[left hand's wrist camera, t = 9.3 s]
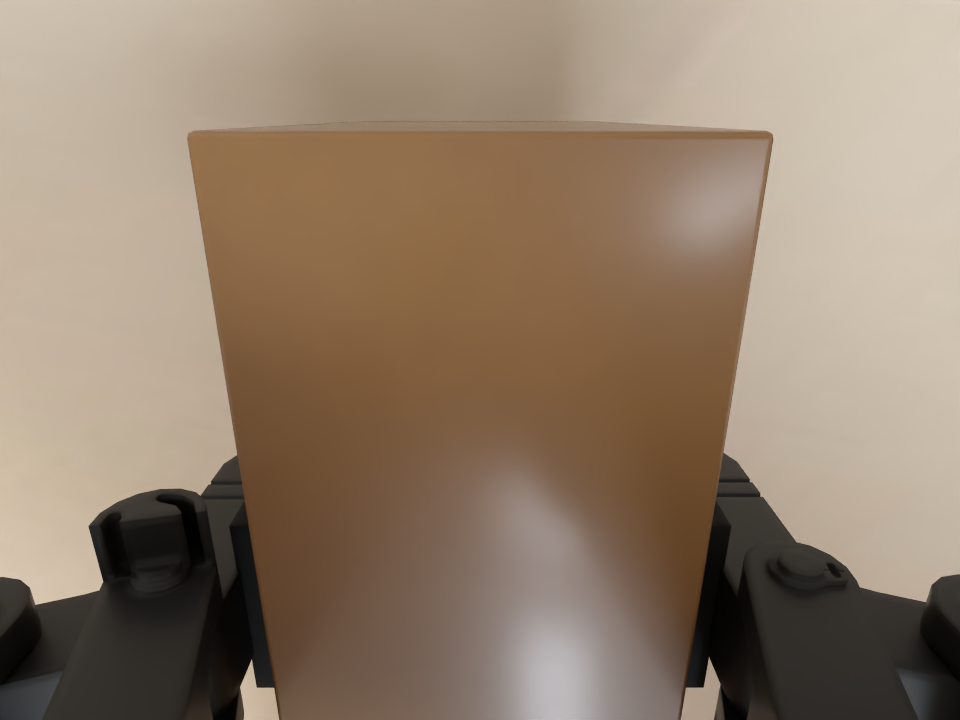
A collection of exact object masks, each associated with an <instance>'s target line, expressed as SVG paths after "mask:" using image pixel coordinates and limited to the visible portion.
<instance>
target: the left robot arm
mask: <svg viewBox="0 0 960 720" xmlns="http://www.w3.org/2000/svg"><path fill="white" fill-rule="evenodd" d="M89 530H90V534H91V537H92V541H93V545H94V548H95V552H96V556H97V559H98V563H99V567H100V571H101V574H102V578H103V584H102V586H101V588H100V590H99V591H96V592H92V593H89V594H85V595H80V596H76V597H71V598H66V599H62V600H57V601H52V602H48V603H43V604H38V605H35V603H34V600H33V597H32V593H31V590H30V588H29V587H28V586H27V585H26V584H25V583H23V582H22V581H21V580H18V579H12V578H5V577H0V720H243V719H244V709H243V702H242V696H241V690H240V686H241V683H242V681H243V679H244V676H245V674H246V671H247V669H248V667H249V664H250V662H251V659H252V662H253V668H254V673H255V679H256V685H257V688H274V682H273V676H272V670H271V663H270V657H269V651H268V644H267V638H266V632H265V625H264V619H263V613H262V606H261V600H260V594H259V587H258V581H257V575H256V569H255V562H254V556H253V550H252V543H251V537H250V531H249V524H248V518H247V512H246V505H245V499H244V493H243V486H242V480H241V474H240V467H239V461H238V455H237V456H235V457H234V458H232V459H231V460H229V461H228V462H226V463H225V464H224V465H223V466H222V467H221V469H220V470H219V471H218V473H217V474H216V475H215V477H214V478H213V480H212V481H211V485H208V486H207V488H206V489H205V490H204V492H203V493H202V495H201V496H200V495H198V494H197V493H196V492H192V491H188V490H184V489H159V490H154V491H150V492H145V493H140V494H137V495H134V496H132V497H129V498H127V499H124V500H122V501H119V502H117V503H115V504H114V505H112V506H111V507H109V508H108V509H106V510H104V511H103V512H101V513H100V514H99V515H98V516H97V517H96V518H95V519H94V521H93V522H92V523H91V524H90V525H89ZM709 657H710V660H711V662H712V665H713V667H714V669H715V672H716V674H717V676H718V679H719V681H720V684H721V685H720V690H719V696H718V701H717V706H716V712H715V717H714V720H960V574H958V575H952V576H945V577H941V578H940V579H938V580H937V581H936V582H935V583H934V584H932V586H931V589H930V592H929V595H928V598H927V602H921V601H917V600H912V599H907V598H902V597H898V596H893V595H888V594H884V593H879V592H875V591H871V590H867V589H864V588H860V587H859V585H858V583H857V581H856V579H855V578H854V577H853V575H852V574H851V573H850V571H849V570H848V569H847V567H846V566H844V565H843V564H842V563H840V562H839V561H838V560H836V559H835V558H834V557H832V556H831V555H829V554H827V553H825V552H823V551H820V550H818V549H816V548H814V547H812V546H809V545H805V544H801V543H797V542H796V541H795V540H794V538H793V537H792V536H791V534H790V533H789V532H788V530H787V529H786V528H785V526H784V525H783V524H782V522H781V521H780V520H779V518H778V517H777V515H776V514H775V513H774V511H773V510H772V509H771V507H770V506H769V505H768V503H767V502H766V501H765V499H764V498H763V497H760V492H759V491H758V490H757V488H756V487H755V486H754V484H753V483H750V479H749V478H748V476H747V475H746V473H745V472H744V471H743V469H742V468H741V467H740V465H739V464H738V463H737V462H736V461H735V460H733V459H732V458H730V457H729V456H727V455H726V454H724V453H723V457H722V463H721V470H720V476H719V482H718V488H717V495H716V501H715V507H714V514H713V520H712V526H711V532H710V539H709V545H708V551H707V557H706V564H705V570H704V576H703V583H702V589H701V595H700V601H699V608H698V614H697V620H696V626H695V633H694V639H693V645H692V652H691V658H690V664H689V670H688V677H687V683H686V687H704V682H705V676H706V670H707V665H708V659H709Z"/></svg>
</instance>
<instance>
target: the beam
mask: <svg viewBox="0 0 960 720" xmlns="http://www.w3.org/2000/svg"><path fill="white" fill-rule="evenodd" d="M772 144H773V135H772V133H770V132H768V131H757V130H739V129H721V128H703V127H685V126H667V125H649V124H631V123H613V122H571V121H364V122H346V123H327V124H309V125H291V126H272V127H254V128H236V129H217V130H199V131H192V132H190V133H189V134H188V145H189V152H190V158H191V164H192V171H193V177H194V183H195V190H196V196H197V202H198V209H199V215H200V221H201V228H202V234H203V240H204V247H205V253H206V259H207V265H208V272H209V278H210V284H211V291H212V297H213V303H214V310H215V316H216V322H217V329H218V335H219V341H220V348H221V354H222V360H223V366H224V373H225V379H226V385H227V392H228V398H229V404H230V411H231V417H232V423H233V430H234V436H235V442H236V449H237V455H238V461H239V467H240V474H241V480H242V486H243V493H244V499H245V505H246V512H247V518H248V524H249V531H250V537H251V543H252V550H253V556H254V562H255V569H256V575H257V581H258V587H259V594H260V600H261V606H262V613H263V619H264V625H265V632H266V638H267V644H268V651H269V657H270V663H271V670H272V676H273V682H274V688H275V695H276V701H277V707H278V714H279V720H681V714H682V708H683V702H684V695H685V689H686V683H687V677H688V670H689V664H690V658H691V652H692V645H693V639H694V633H695V626H696V620H697V614H698V608H699V601H700V595H701V589H702V583H703V576H704V570H705V564H706V557H707V551H708V545H709V539H710V532H711V526H712V520H713V514H714V507H715V501H716V495H717V488H718V482H719V476H720V470H721V463H722V457H723V451H724V445H725V438H726V432H727V426H728V419H729V413H730V407H731V401H732V394H733V388H734V382H735V376H736V369H737V363H738V357H739V350H740V344H741V338H742V332H743V325H744V319H745V313H746V307H747V300H748V294H749V288H750V281H751V275H752V269H753V263H754V256H755V250H756V244H757V238H758V231H759V225H760V219H761V212H762V206H763V200H764V194H765V187H766V181H767V175H768V169H769V162H770V156H771V150H772Z"/></svg>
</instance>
